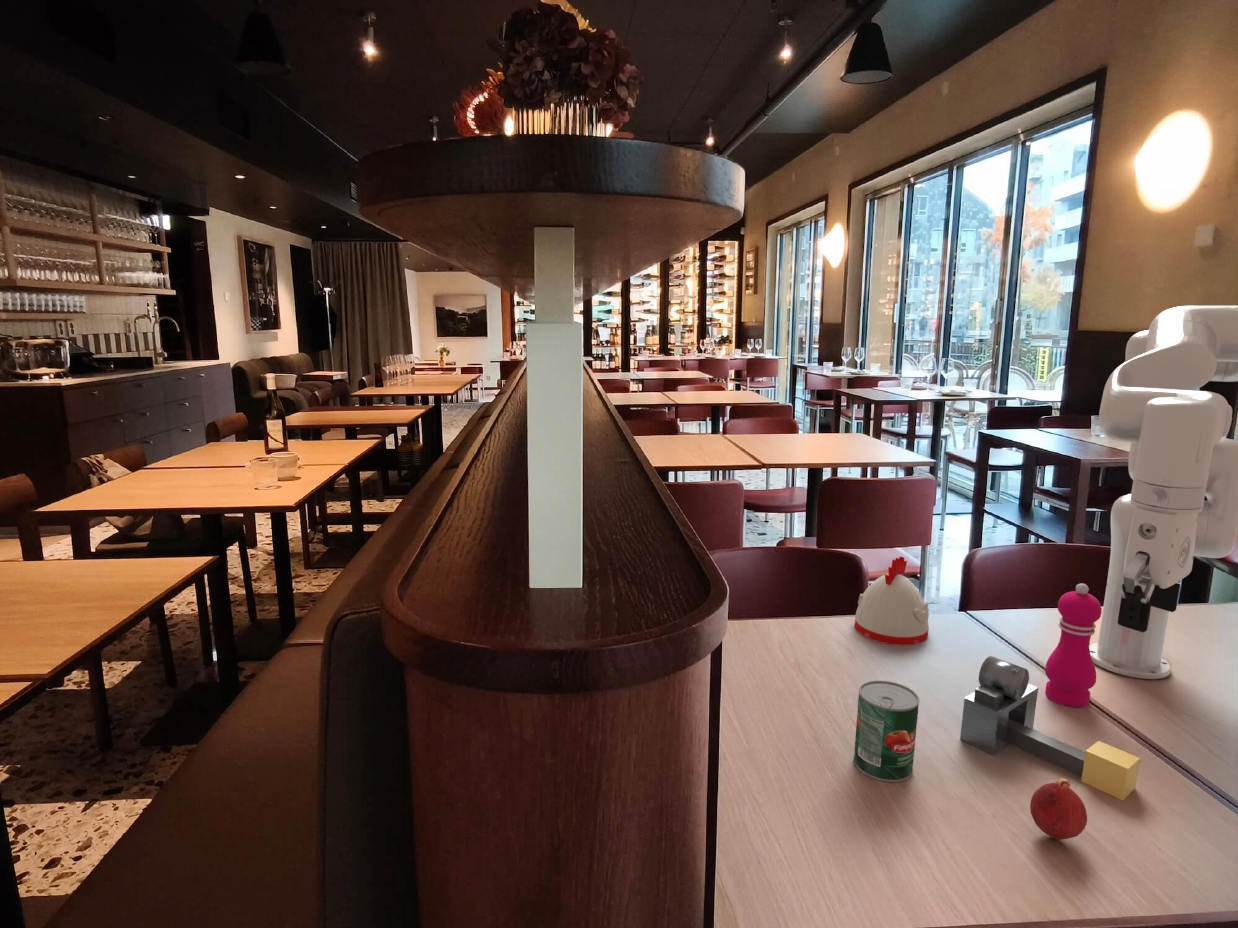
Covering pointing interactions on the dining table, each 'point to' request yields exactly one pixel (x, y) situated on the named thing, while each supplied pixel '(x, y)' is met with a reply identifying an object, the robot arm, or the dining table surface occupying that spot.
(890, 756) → the canned tomato
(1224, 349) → the robot arm
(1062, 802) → the red rounded piece
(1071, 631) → the pepper mill
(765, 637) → the dining table surface
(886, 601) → the kitchen timer
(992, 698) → the block
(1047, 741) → the yellow tipped gray bar
